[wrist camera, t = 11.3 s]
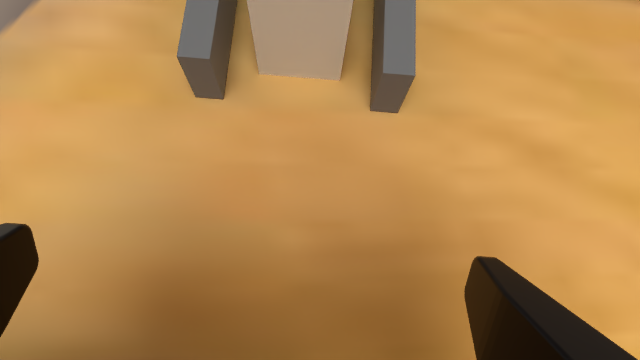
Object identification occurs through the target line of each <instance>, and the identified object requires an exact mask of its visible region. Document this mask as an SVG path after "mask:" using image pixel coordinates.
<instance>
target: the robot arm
mask: <svg viewBox="0 0 640 360" xmlns="http://www.w3.org/2000/svg"><path fill="white" fill-rule="evenodd" d="M38 262H39V258H38V253H37V250H36V246H35V242H34V238H33V234H32V231H31V229H30V227H29V226H27V225H26V224H15V223H4V224H1V225H0V337H1V335H2V333H3V332H4V330H5V328H6V326H7V325H8V323H9V321H10V319H11V317H12V315H13V313H14V312H15V310H16V308H17V306H18V304H19V302H20V300H21V298H22V297H23V295H24V293H25V291H26V289H27V287H28V285H29V283H30V281H31V280H32V278H33V276H34V274H35V272H36V270H37V267H38ZM464 295H465V302H466V308H467V313H468V318H469V323H470V328H471V333H472V338H473V343H474V349H475V354H476V358H477V360H638V359H636V358H635V357H633V356H632V355H631V354H629V353H628V352H626V351H625V350H624V349H622V348H621V347H619V346H618V345H617V344H615V343H614V342H613V341H611V340H610V339H608V338H607V337H606V336H604V335H603V334H601V333H600V332H599V331H597V330H596V329H594V328H593V327H592V326H590V325H589V324H588V323H586V322H585V321H583V320H582V319H581V318H579V317H578V316H576V315H575V314H574V313H572V312H571V311H569V310H568V309H567V308H565V307H564V306H563V305H561V304H560V303H558V302H557V301H556V300H554V299H553V298H551V297H550V296H549V295H547V294H546V293H544V292H543V291H542V290H540V289H539V288H538V287H536V286H535V285H533V284H532V283H531V282H529V281H528V280H526V279H525V278H524V277H522V276H521V275H519V274H518V273H517V272H515V271H514V270H513V269H511V268H510V267H508V266H507V265H506V264H504V263H503V262H501V261H500V260H499V259H497V258H495V257H482V256H477V257H476V258H474V260H473V262H472V265H471V268H470V272H469V275H468V279H467V282H466V286H465V294H464Z"/></svg>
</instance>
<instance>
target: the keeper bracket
mask: <svg viewBox="0 0 640 360" xmlns="http://www.w3.org/2000/svg"><path fill="white" fill-rule="evenodd" d="M236 7H237V0H187V2H186V7H185V13H184V18H183V24H182V30H181V35H180V41H179V46H178V52H177V58H178V60H179V62H180V65H181V67H182V69H183V71H184V73H185V75H186V77H187V80H188V82H189V84H190V86H191V88H192V90H193V92H194V95H195V97H201V98H214V99H224V92H225V85H226V78H227V70H228V63H229V56H230V49H231V42H232V35H233V28H234V21H235V14H236ZM415 29H416V0H374V19H373V47H372V75H371V103H370V111H379V112H392V113H398V111H399V109H400V107H401V105H402V102H403V100H404V98H405V96H406V94H407V92H408V90H409V88H410V86H411V84H412V82H413V79H414V77H415Z"/></svg>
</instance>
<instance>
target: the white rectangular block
mask: <svg viewBox="0 0 640 360" xmlns="http://www.w3.org/2000/svg"><path fill="white" fill-rule="evenodd" d="M247 5H248V11H249V17H250V23H251V29H252V35H253V41H254V47H255V53H256V59H257V65H258V71H259V74H264V75H276V76H289V77H302V78H314V79H327V80H340V76H341V70H342V64H343V59H344V53H345V47H346V41H347V35H348V29H349V23H350V17H351V11H352V5H353V0H247Z"/></svg>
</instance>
